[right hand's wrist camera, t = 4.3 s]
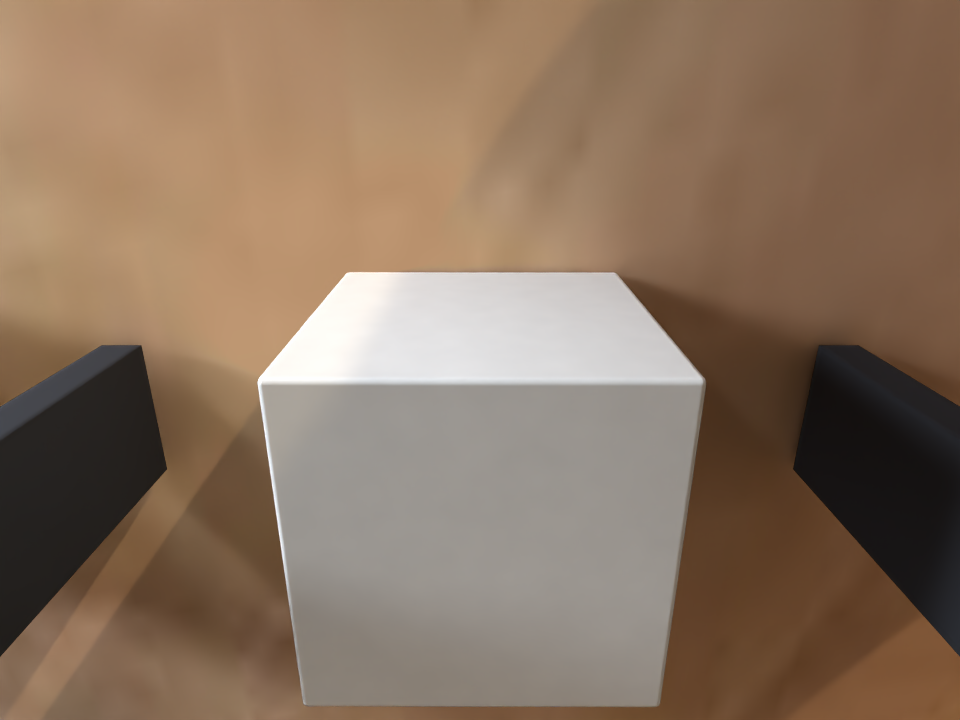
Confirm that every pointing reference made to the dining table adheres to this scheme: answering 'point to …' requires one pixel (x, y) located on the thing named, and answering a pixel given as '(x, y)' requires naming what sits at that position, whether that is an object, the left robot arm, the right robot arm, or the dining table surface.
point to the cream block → (481, 490)
